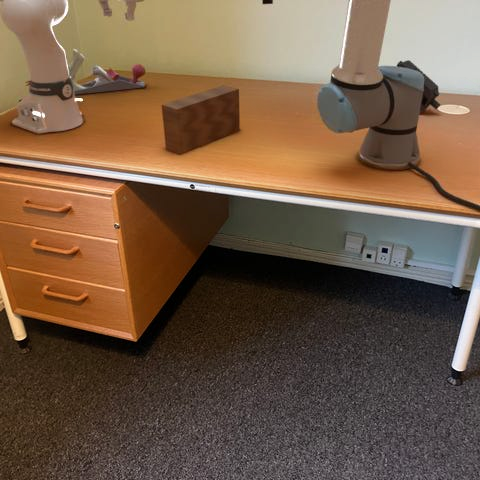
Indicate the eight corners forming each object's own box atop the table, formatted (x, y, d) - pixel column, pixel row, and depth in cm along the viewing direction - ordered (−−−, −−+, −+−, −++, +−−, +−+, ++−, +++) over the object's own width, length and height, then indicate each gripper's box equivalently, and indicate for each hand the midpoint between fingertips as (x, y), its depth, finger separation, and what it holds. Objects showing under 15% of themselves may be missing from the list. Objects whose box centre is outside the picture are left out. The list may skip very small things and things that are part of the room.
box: (224, 125, 163) (223, 84, 156) (239, 130, 159) (239, 88, 152) (165, 148, 148) (161, 104, 141) (180, 154, 144) (176, 109, 138)
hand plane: (62, 90, 197) (53, 48, 189) (145, 82, 205) (140, 41, 197) (62, 96, 191) (54, 53, 184) (148, 87, 199) (143, 45, 191)
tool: (378, 91, 179) (405, 54, 169) (421, 128, 175) (451, 93, 164) (370, 95, 176) (396, 58, 165) (413, 134, 171) (443, 98, 161)
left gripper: (76, -43, 134) (85, 15, 142) (125, -40, 122) (133, 24, 130) (97, -45, 138) (105, 12, 146) (147, -42, 126) (153, 20, 134)
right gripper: (236, -89, 148) (237, -5, 159) (259, -89, 127) (259, 7, 138) (262, -89, 149) (261, -6, 160) (289, -89, 128) (287, 6, 140)
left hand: (118, 18), depth 138 cm, fingers open, 8 cm apart
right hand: (260, 0), depth 149 cm, fingers open, 13 cm apart
